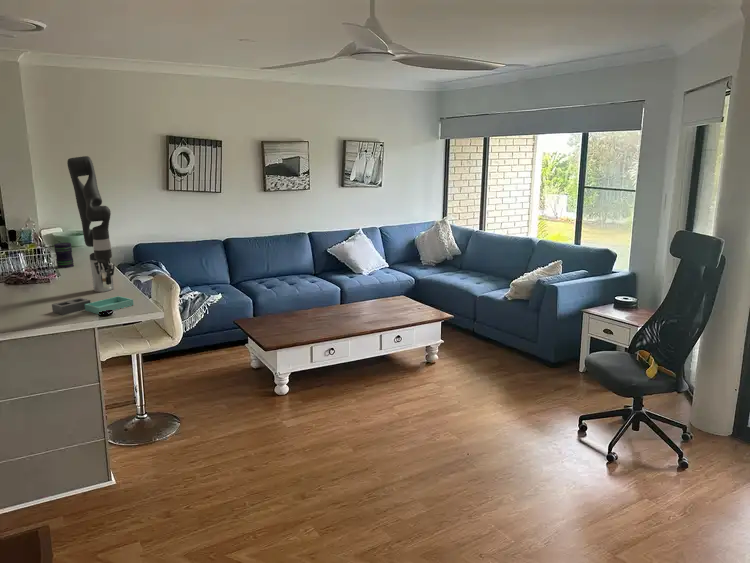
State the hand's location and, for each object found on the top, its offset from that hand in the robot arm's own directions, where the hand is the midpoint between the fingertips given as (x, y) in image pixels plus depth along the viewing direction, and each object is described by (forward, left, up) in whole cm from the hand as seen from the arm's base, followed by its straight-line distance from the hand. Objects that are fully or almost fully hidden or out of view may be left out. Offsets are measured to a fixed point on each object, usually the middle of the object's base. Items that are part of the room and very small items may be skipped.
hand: (106, 283), depth 288 cm
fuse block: (+12, -12, -12) cm, 21 cm away
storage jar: (-42, -115, -12) cm, 123 cm away
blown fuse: (0, 0, -3) cm, 3 cm away
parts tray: (0, 0, -12) cm, 12 cm away
